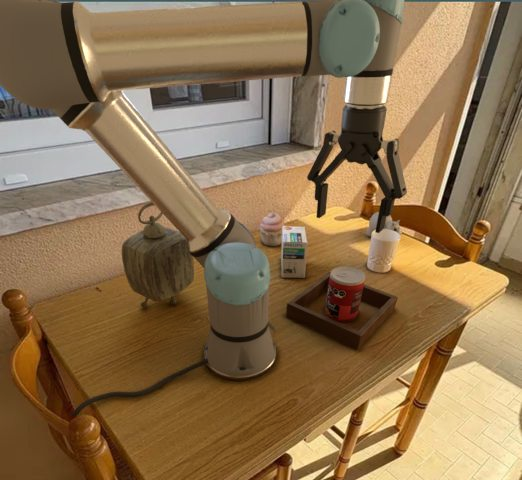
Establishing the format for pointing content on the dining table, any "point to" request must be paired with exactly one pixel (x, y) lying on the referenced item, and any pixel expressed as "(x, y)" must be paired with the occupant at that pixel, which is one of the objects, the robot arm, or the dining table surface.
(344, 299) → the canned food
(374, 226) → the grey animal figurine
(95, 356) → the dining table surface
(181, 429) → the dining table surface
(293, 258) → the light bulb box
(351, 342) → the crate
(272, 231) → the cupcake
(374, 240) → the white cup
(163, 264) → the tabletop clock
